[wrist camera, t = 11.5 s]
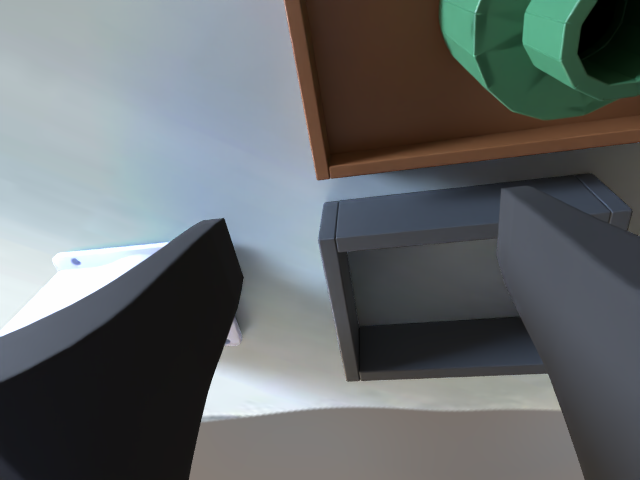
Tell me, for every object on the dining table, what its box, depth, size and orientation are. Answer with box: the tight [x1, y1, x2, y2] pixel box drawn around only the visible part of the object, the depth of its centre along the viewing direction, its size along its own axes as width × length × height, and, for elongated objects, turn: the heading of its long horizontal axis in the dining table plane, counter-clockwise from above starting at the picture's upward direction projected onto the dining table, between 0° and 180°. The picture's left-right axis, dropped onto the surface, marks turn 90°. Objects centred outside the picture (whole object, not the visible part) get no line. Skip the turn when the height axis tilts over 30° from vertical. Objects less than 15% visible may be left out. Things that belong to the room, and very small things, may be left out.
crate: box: [318, 174, 632, 381], centre depth 21 cm, size 13×10×4 cm
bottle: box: [439, 0, 640, 120], centre depth 12 cm, size 5×5×8 cm
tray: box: [284, 0, 640, 180], centre depth 15 cm, size 16×11×2 cm
